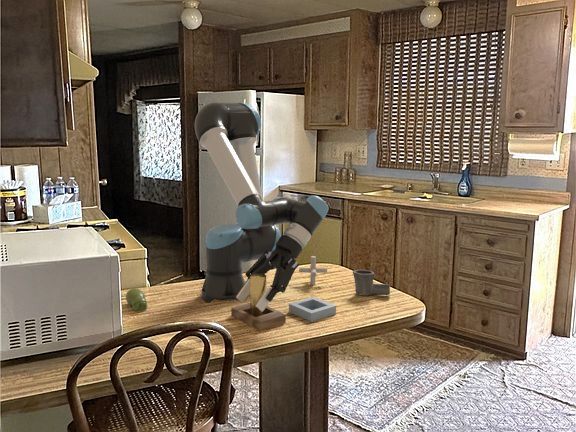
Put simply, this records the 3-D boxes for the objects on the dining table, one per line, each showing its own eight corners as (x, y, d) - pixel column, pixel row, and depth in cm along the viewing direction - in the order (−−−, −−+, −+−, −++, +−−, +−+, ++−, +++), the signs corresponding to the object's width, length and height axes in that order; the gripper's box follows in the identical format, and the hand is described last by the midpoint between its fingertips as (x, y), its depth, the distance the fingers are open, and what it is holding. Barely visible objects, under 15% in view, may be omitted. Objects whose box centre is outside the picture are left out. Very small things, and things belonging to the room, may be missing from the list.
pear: (140, 284, 172) (151, 298, 164) (140, 299, 174) (151, 313, 166) (123, 287, 169) (133, 301, 161) (123, 302, 171) (133, 317, 163)
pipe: (389, 299, 179) (390, 276, 177) (350, 296, 181) (351, 273, 180) (389, 293, 185) (390, 270, 183) (352, 290, 187) (353, 268, 186)
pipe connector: (327, 288, 188) (328, 260, 187) (298, 288, 189) (299, 260, 187) (325, 279, 198) (326, 253, 196) (298, 279, 198) (299, 252, 197)
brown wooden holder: (231, 320, 158) (231, 307, 158) (255, 313, 164) (255, 301, 163) (260, 335, 148) (260, 322, 147) (285, 327, 154) (285, 314, 153)
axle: (247, 320, 155) (247, 276, 152) (254, 315, 159) (254, 272, 156) (261, 323, 153) (261, 279, 150) (268, 317, 157) (269, 274, 154)
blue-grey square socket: (288, 316, 162) (288, 303, 162) (313, 308, 169) (313, 296, 168) (311, 326, 155) (311, 313, 154) (335, 318, 161) (336, 305, 160)
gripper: (263, 227, 166) (220, 287, 158) (310, 240, 150) (264, 308, 142) (276, 242, 170) (235, 301, 163) (324, 256, 154) (280, 322, 147)
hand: (249, 304), depth 153 cm, fingers open, 9 cm apart
